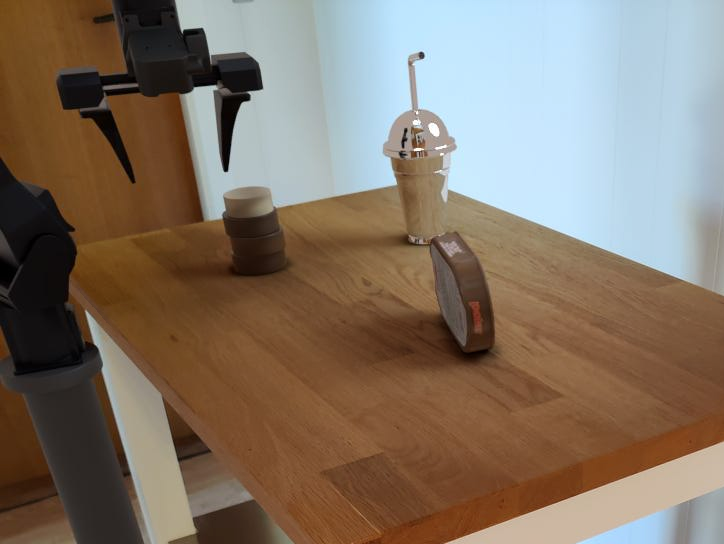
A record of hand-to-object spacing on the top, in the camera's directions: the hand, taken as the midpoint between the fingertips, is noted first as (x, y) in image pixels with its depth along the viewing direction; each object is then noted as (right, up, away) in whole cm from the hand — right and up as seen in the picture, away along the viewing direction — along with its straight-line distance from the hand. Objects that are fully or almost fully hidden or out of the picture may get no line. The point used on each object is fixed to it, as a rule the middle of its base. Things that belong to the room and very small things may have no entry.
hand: (180, 177), depth 100 cm
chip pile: (+5, -4, +13) cm, 15 cm away
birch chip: (+5, +1, +10) cm, 11 cm away
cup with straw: (+24, +1, +18) cm, 30 cm away
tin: (+29, -18, -7) cm, 35 cm away
